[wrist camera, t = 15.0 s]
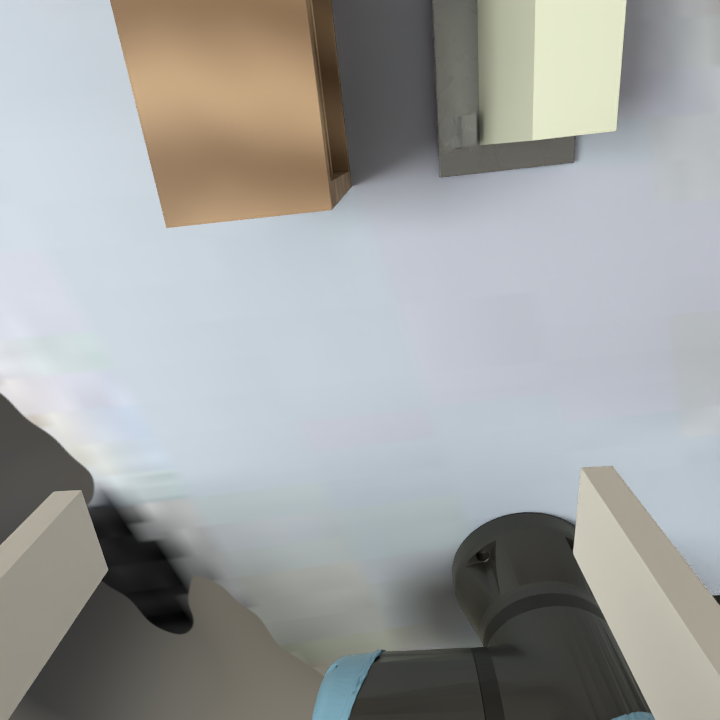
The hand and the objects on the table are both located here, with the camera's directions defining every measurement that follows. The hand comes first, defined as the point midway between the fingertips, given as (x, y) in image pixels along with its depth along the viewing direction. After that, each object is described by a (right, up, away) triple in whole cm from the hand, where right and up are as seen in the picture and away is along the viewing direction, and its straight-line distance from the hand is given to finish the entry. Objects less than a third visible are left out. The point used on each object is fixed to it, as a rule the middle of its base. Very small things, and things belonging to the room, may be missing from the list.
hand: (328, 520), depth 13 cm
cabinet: (-5, +25, +24) cm, 35 cm away
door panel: (+11, +26, +22) cm, 36 cm away
